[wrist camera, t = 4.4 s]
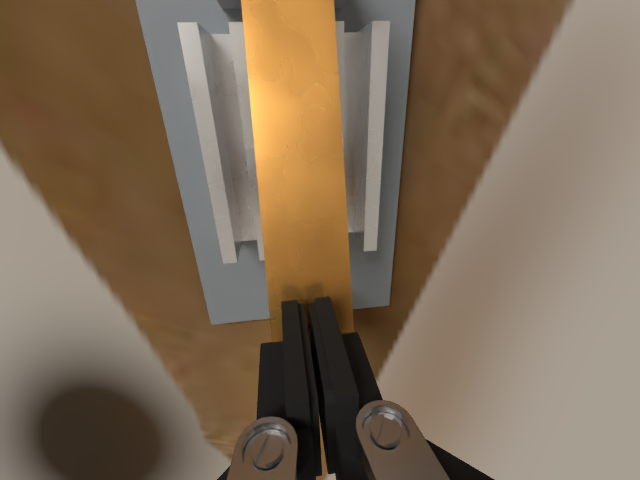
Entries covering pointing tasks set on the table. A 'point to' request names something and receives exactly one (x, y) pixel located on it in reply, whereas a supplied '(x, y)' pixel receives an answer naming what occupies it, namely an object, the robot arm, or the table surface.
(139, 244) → the table surface
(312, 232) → the strap
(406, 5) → the cpu board
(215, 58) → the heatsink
